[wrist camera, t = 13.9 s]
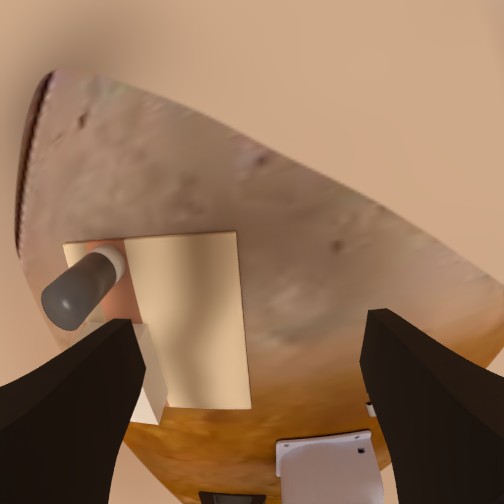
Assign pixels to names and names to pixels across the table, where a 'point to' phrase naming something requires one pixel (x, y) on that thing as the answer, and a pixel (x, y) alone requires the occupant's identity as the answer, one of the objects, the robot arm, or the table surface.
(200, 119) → the table surface
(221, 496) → the phone stand
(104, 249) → the grey capped cylinder
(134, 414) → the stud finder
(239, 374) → the panel
